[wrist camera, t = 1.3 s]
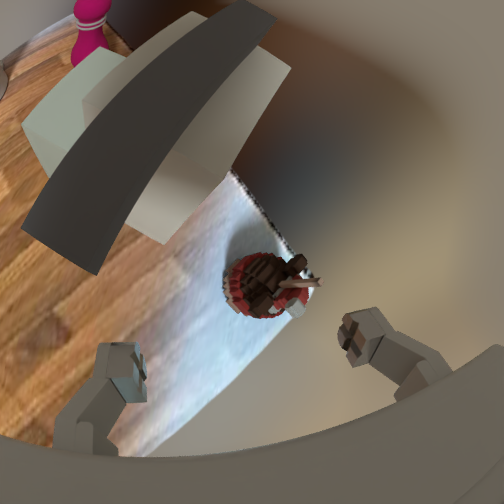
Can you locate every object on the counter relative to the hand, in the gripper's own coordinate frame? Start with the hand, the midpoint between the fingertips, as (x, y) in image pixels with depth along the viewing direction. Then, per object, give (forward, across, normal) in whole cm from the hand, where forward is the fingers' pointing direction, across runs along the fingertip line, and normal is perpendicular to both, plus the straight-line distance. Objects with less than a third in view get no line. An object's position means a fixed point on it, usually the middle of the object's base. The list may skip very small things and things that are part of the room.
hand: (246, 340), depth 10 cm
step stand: (+36, +11, +3) cm, 38 cm away
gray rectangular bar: (+12, +3, -8) cm, 15 cm away
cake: (+28, -7, +20) cm, 35 cm away
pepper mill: (+48, +21, -16) cm, 55 cm away
